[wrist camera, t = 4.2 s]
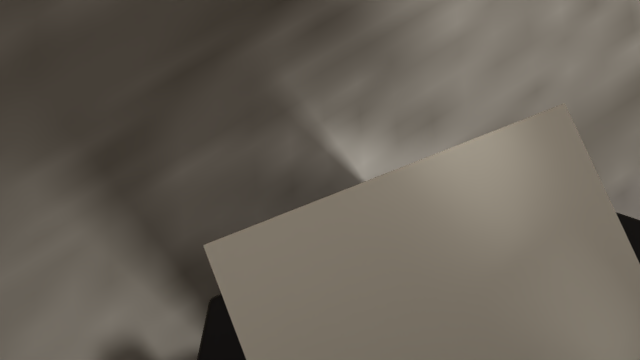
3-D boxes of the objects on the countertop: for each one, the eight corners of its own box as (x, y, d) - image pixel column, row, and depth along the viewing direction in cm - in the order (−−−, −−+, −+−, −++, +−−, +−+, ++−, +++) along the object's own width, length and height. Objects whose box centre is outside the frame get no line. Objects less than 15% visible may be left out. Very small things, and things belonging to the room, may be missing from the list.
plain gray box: (448, 355, 16) (738, 474, 6) (297, 424, 16) (365, 674, 6) (385, 205, 17) (564, 103, 7) (236, 265, 16) (203, 244, 6)
